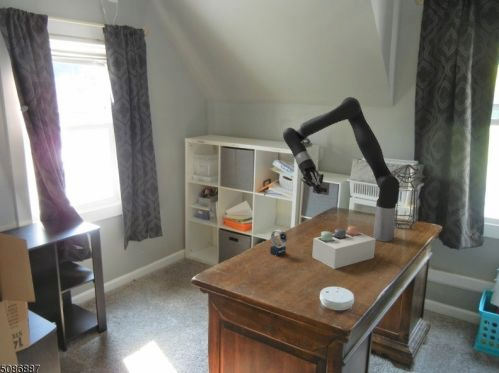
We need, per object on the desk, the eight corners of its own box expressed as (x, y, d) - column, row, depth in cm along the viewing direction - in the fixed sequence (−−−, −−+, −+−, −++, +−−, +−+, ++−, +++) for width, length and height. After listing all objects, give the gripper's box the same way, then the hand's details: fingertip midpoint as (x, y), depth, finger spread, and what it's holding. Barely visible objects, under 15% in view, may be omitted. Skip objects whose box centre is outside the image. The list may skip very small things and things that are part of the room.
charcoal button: (339, 235, 190) (340, 227, 189) (347, 239, 185) (348, 231, 184) (331, 237, 187) (332, 229, 186) (339, 241, 183) (340, 232, 182)
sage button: (326, 238, 185) (327, 230, 184) (334, 242, 181) (335, 233, 180) (318, 240, 183) (318, 232, 182) (325, 244, 179) (326, 235, 178)
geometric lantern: (389, 229, 224) (394, 165, 217) (386, 221, 239) (391, 161, 232) (420, 231, 221) (426, 167, 214) (415, 223, 236) (421, 162, 229)
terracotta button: (352, 233, 194) (353, 225, 193) (360, 236, 190) (361, 228, 189) (344, 234, 191) (345, 226, 190) (352, 238, 187) (353, 229, 186)
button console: (351, 247, 198) (352, 229, 195) (373, 257, 186) (375, 239, 184) (312, 257, 185) (313, 238, 183) (333, 268, 174) (335, 248, 172)
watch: (280, 257, 184) (281, 234, 181) (267, 252, 190) (268, 229, 187) (288, 254, 188) (289, 231, 185) (275, 249, 193) (276, 226, 191)
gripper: (298, 159, 195) (313, 190, 188) (319, 157, 202) (335, 187, 195) (290, 168, 201) (305, 198, 194) (311, 166, 208) (326, 195, 200)
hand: (320, 192), depth 194 cm, fingers closed
